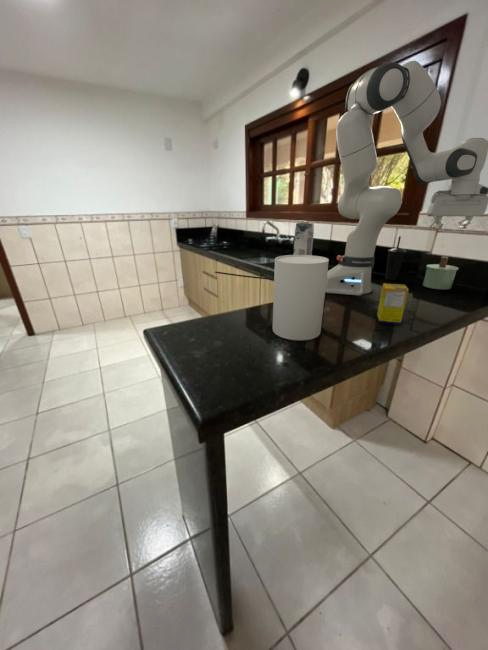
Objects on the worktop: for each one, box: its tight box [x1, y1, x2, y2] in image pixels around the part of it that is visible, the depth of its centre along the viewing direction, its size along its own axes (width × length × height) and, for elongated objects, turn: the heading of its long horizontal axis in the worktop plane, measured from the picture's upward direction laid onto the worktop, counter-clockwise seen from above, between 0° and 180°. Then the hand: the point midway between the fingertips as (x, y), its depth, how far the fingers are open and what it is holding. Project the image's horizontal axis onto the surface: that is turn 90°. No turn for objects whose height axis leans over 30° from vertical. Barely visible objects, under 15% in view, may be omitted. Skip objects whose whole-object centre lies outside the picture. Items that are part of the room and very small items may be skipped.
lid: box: [425, 256, 460, 271], centre depth 110 cm, size 11×11×5 cm
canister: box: [271, 254, 330, 341], centre depth 71 cm, size 14×14×20 cm
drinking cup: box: [384, 235, 407, 281], centre depth 125 cm, size 8×8×20 cm
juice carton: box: [293, 219, 315, 255], centre depth 141 cm, size 9×10×27 cm
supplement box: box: [376, 282, 409, 326], centre depth 79 cm, size 6×6×11 cm
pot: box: [422, 267, 458, 290], centre depth 113 cm, size 10×10×8 cm
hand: (450, 228), depth 105 cm, fingers open, 8 cm apart
